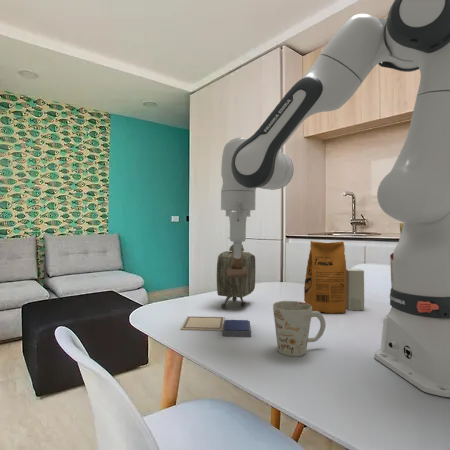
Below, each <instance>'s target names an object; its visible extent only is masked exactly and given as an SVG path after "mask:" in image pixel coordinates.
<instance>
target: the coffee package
mask: <svg viewBox="0 0 450 450" xmlns="http://www.w3.org/2000/svg"><path fill="white" fill-rule="evenodd" d="M344 243H345V242H344V241H333V242H321V241H314V240H313V241H312V240H310V250H309V253H308V259H307V266H306V274H305V280H304V287H303V293H304V294H303V297H304V299H303V300H304V301H303V302H304V303H307V304H310V305H311V306H312V311H318V312H320V313H325V314H330V315H331V314H344V313H346V311H347V308H346V269H347V261H346V255H345V252H346V251H345V250H346V247H345V244H344Z"/></svg>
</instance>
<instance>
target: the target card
mask: <svg viewBox="0 0 450 450" xmlns="http://www.w3.org/2000/svg"><path fill="white" fill-rule="evenodd" d="M224 320H226V317H225V316H194V315H193V316H186V317H185V320H184V322H183V324H182V325H181V326H180V331H181V330H182V331H223V324H224Z"/></svg>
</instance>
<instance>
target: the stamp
mask: <svg viewBox="0 0 450 450" xmlns="http://www.w3.org/2000/svg"><path fill="white" fill-rule="evenodd" d="M231 246H232V251H231V252H232V267H228V268H227V278H247V267H243V252H244V251H243V248H244V246H243V244H242V248H241V258H240V259H236V258H234V247H233V244H231Z"/></svg>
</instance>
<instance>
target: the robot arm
mask: <svg viewBox="0 0 450 450" xmlns="http://www.w3.org/2000/svg"><path fill="white" fill-rule="evenodd" d="M386 16H387V17H385V18H377V17H376V16H374V15H372V14H368V13H357V14H354V15H353V16H351V17H349V19H347V20H346V21H345V23H344V24H343V25H342V26H341V27H340V28H339V29H338V30H337V31H336V33H335V34H333V36H332V38H331V39H330V40H329V41H328V42H327V44H326V45H325V46H324V48H323V50H322V51H321V52H320V54H319V55H318V56H317V58H316V60H315V61H314V63H312V65H311V66H310V67H309V69H308V70H307V72H306V73H305V74H304V75H303V76H302V77H300V79H299V80H298V81H297V82H296V83H294V84H293V86H292V87H291V88H289V90H288V91H287V92H286V93H285V95H284V96H283V97H282V99H281V100H279V102H278V104H277V105H276V106H275V108H274V109H273V110H272V111H271V112H270V113H269V115H268V116H267V118H266V119H265V120H264V121H263V123H262V124H261V125H260V126H259V128H258V129H257V130H256V131H255V132H254V133H253V135H251V136H250V137H237V138H233V139H231V140H229V141H228V142H226V143H225V145H224V147H223V151H222V157H221V167H220V169H221V178H222V186H221V189H220V210H221V211H225V217H228V220H229V240H230V242H232V243H233V244H232V245H233V247H234V258H236V259H240V258H241V248H242V245H243V243H244V242H246V237H247V235H246V234H247V229H246V228H247V227H246V226H247V218H249V217H251V211H256V191H257V188H258V189H263V190H272V191H275V190H279V189H283V188H285V187H286V186H287V185H288V184H289V183H290V182H291V180H292V179H293V176H294V165H293V161H292V159H291V158H290V157H289V156H288V155H287V154H285V152H284V153H283V152H282V151H281V149H282V148H283V146H284V145H285V144H286V143H287V142H288V141H289V139H290V138H291V137H292V136H293V135H294V133H295V132H296V130H297V129H298V128H299V127H300V126H301V124H302V123H303V122H304V121H305V120H306V119H307V118H309V117H312V115H315V114H318V113H323V112H324V113H325V112H328V113H329V112H332V111H336V110H339V109H341V108H342V107H343V106H344V105H345V104H346V103H347V102H349V100H350V99H351V98H352V97H353V96H354V94H355V93H356V92H357V91H358V89H359V88H360V86H361V85H362V84H363V82H365V80H366V78H367V77H368V75H369V74H370V73H371V72H372V70H373V69H374V68H376V66H377V65H379V67H381V68H388V69H391V70H392V69H393V70H396V71H399V72H405V73H407V72H408V73H410V72H415V71H418V70H419V71H420V72H419V73H420V78H419V84H418V85H419V87H418V90H417V94H416V96H415V97H416V98H415V103H414V106H413V111H412V115H411V120H410V124H409V129H408V132H407V135H406V138H405V141H404V143H403V146H402V148H401V150H400V152H399V155H398V156H397V158H396V160H395V162H394V164H393V167H392V168H391V170H390V172H388V174H386V175H385V176H384V177H383V178H382V179H381V181H380V182H379V185H378V188H377V193H376V195H377V198H376V199H377V203H378V205H379V207H380V209H381V210H382V211H383V212H384V213H385V214H386V215H387V216H389V217H391V218H392V219H395V220H396V221H399V222H400V223H404V224H403V228H402V233H400V237H399V239H398V243H397V245H396V247H395V248H394V250H393V288H390V294H389V305H390V306H391V308H390V310H389V312H388V313H387V315H386V316H385V317H384V318H383V322H382V331H381V340H380V341H381V342H380V349H378V350H376V351H375V352H374V359H375V360H377V361H378V362H380V363H381V364H383V366H385V367H387V368H389V369H390V370H391V371H393V372H394V373H396V374H397V375H398V376H400V377H402V378H403V379H404V380H406V381H407V382H409V383H410V384H412V386H415V387H416V388H418V389H419V390H421V391H422V392H425V393H426V394H430V395H434V396H439V397H446V398H450V0H393V2H392V4H391V6H390V9H389V11H388V13H387V15H386Z"/></svg>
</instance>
